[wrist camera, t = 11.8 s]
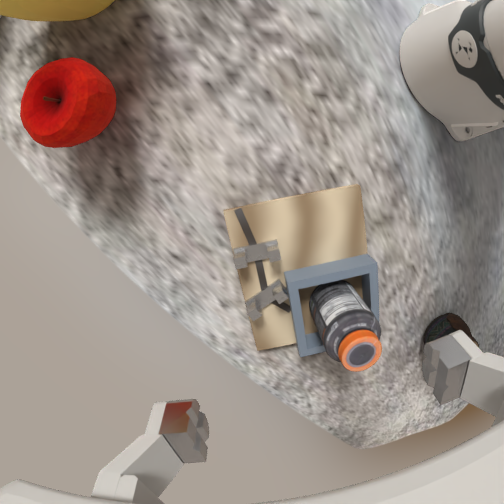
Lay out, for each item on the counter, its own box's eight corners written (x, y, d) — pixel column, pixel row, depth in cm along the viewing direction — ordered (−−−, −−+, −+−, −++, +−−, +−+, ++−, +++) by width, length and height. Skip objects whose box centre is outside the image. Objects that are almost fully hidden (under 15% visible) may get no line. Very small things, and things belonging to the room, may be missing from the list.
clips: (278, 238, 34) (280, 245, 32) (290, 304, 37) (293, 315, 35) (231, 248, 34) (230, 256, 32) (247, 313, 37) (248, 324, 35)
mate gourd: (434, 354, 42) (463, 393, 33) (408, 337, 41) (438, 379, 31) (463, 319, 40) (498, 354, 31) (439, 298, 39) (477, 334, 29)
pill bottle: (346, 324, 38) (376, 382, 27) (302, 317, 38) (322, 379, 27) (362, 281, 36) (401, 331, 26) (316, 273, 36) (344, 325, 25)
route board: (356, 183, 33) (360, 184, 32) (368, 321, 39) (371, 325, 38) (223, 209, 34) (223, 211, 33) (257, 346, 40) (257, 351, 39)
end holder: (367, 253, 35) (377, 262, 32) (371, 324, 38) (379, 337, 35) (283, 271, 36) (287, 282, 33) (296, 343, 39) (300, 357, 36)
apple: (143, 80, 29) (104, 56, 19) (118, 154, 32) (71, 160, 21) (79, 67, 28) (28, 48, 18) (57, 137, 30) (0, 140, 20)
